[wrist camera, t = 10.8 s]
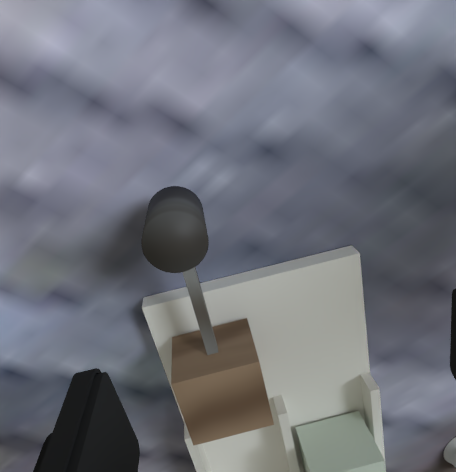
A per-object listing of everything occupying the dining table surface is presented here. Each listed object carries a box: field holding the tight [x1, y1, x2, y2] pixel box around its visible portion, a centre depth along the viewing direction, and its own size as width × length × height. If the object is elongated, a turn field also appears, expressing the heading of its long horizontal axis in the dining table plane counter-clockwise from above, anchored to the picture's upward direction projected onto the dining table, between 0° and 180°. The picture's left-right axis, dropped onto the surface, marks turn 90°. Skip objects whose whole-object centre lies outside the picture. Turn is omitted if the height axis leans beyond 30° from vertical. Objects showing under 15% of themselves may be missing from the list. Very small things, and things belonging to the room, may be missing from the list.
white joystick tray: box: [142, 245, 386, 472], centre depth 33 cm, size 24×17×7 cm
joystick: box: [141, 186, 274, 446], centre depth 27 cm, size 18×6×6 cm, turn 12°
